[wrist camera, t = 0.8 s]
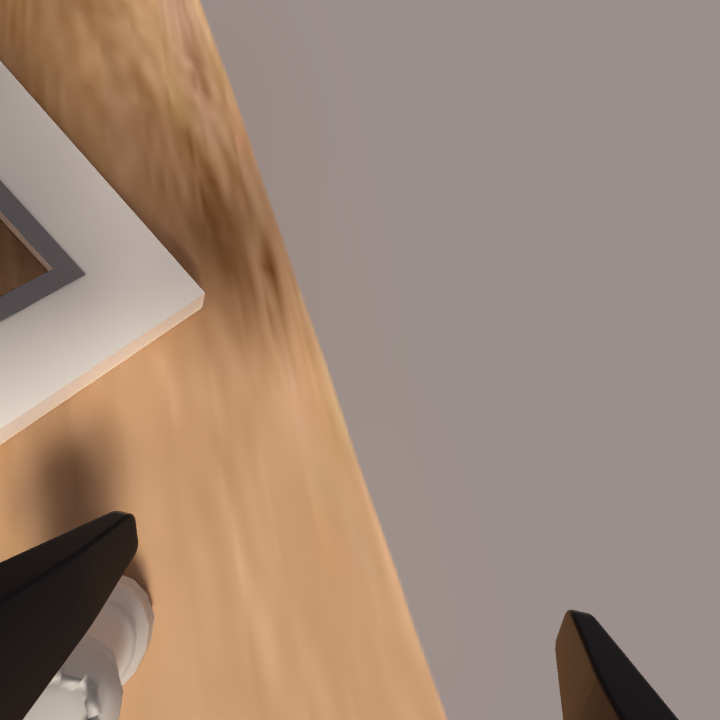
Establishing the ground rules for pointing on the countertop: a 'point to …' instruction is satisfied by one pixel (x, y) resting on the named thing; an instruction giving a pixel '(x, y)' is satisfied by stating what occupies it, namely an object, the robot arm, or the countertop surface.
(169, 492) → the countertop surface
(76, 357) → the socket block
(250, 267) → the countertop surface
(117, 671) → the rook chess piece
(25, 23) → the countertop surface
